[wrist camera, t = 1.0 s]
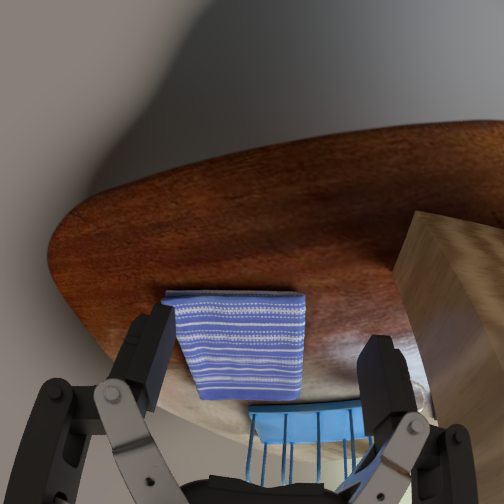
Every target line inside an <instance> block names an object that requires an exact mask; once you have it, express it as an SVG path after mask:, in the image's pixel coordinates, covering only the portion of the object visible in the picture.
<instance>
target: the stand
mask: <svg viewBox="0 0 504 504" xmlns="http://www.w3.org/2000/svg"><path fill="white" fill-rule="evenodd" d="M392 274H393V277H394V279H395V282H396V285H397V287H398V290H399V293H400V295H401V298H402V301H403V304H404V306H405V309H406V312H407V315H408V318H409V321H410V324H411V327H412V330H413V333H414V336H415V339H416V342H417V346H418V349H419V352H420V355H421V359H422V362H423V366H424V369H425V373H426V376H427V380H428V384H429V388H430V391H431V395H432V399H433V403H434V408H435V412H436V416H437V421H438V425H439V427H441V428H445V429H447V428H448V427H449V426H451V425H453V424H461V425H463V426H464V427H465V428H466V429H467V430H468V432H469V435H470V439H471V445H472V451H473V457H474V464H475V472H476V480H477V490H478V501H479V504H504V229H500V228H495V227H491V226H487V225H483V224H478V223H474V222H470V221H465V220H461V219H456V218H451V217H446V216H442V215H437V214H432V213H427V212H421V211H416V210H415V213H414V216H413V219H412V221H411V224H410V227H409V230H408V232H407V235H406V238H405V241H404V243H403V246H402V248H401V251H400V254H399V256H398V259H397V261H396V264H395V266H394V269H393V271H392Z"/></svg>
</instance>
